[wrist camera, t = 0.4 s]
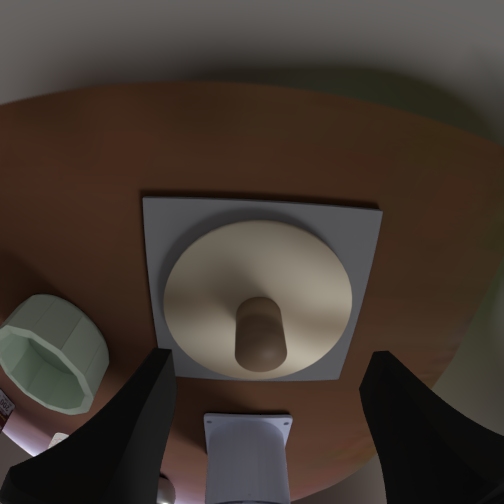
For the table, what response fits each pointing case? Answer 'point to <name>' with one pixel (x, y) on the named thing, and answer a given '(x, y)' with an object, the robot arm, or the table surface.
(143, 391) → the robot arm
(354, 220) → the mat
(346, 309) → the board
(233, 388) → the table surface
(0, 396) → the supplement box
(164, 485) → the plastic bottle
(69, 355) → the bowl
